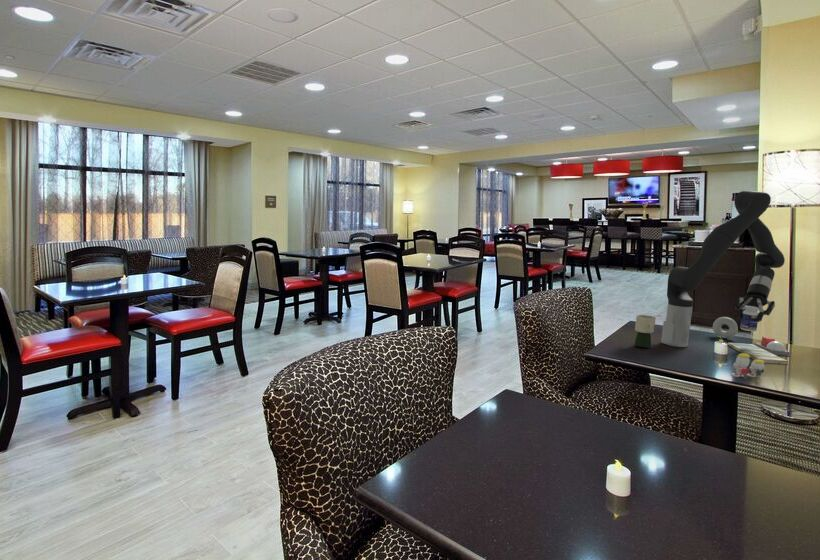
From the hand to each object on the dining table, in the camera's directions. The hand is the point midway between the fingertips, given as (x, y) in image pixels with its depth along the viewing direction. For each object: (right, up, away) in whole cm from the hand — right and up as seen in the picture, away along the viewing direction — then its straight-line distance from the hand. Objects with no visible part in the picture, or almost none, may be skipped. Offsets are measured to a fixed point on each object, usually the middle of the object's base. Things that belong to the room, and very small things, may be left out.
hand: (748, 319), depth 200 cm
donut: (+2, -11, +19) cm, 22 cm away
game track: (0, -14, -4) cm, 14 cm away
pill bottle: (+1, -5, +2) cm, 5 cm away
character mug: (-45, -12, -1) cm, 46 cm away
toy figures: (-24, -18, -32) cm, 44 cm away
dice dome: (+10, -15, +2) cm, 18 cm away
